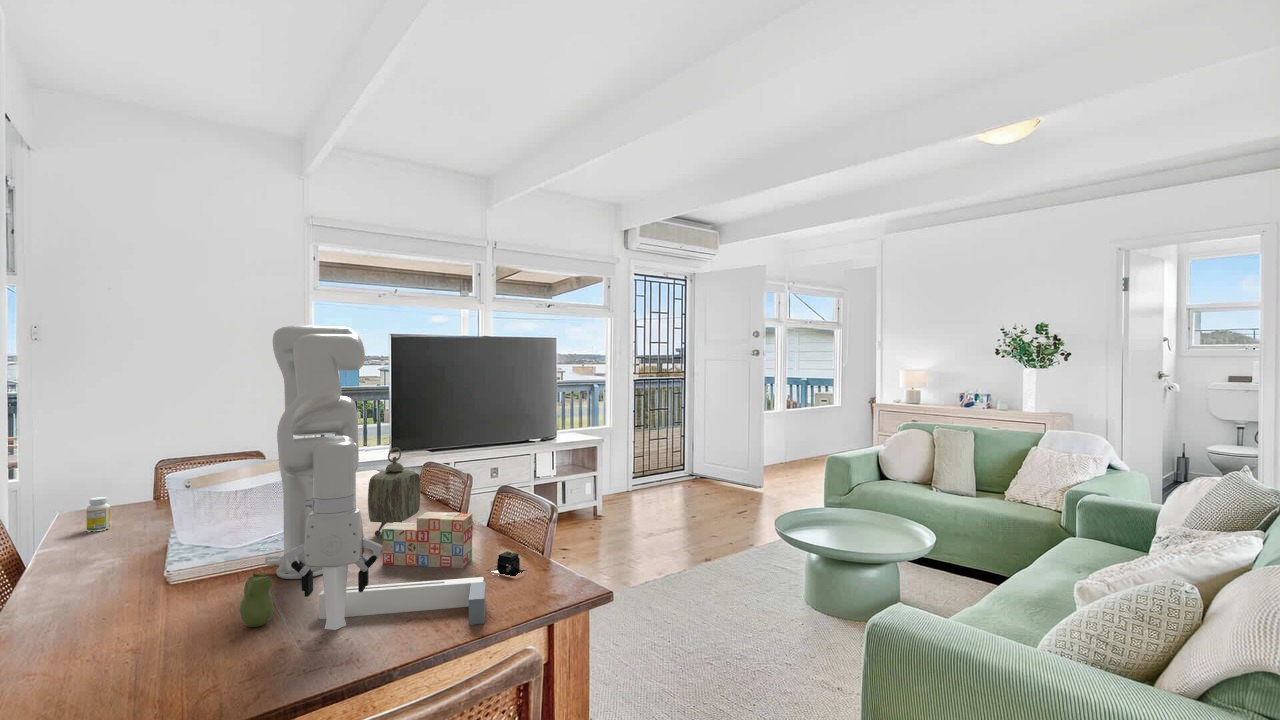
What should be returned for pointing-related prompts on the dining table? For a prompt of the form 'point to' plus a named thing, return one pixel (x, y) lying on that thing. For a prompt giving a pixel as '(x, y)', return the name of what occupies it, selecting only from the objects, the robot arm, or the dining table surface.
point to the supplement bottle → (98, 514)
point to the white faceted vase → (335, 595)
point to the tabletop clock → (393, 494)
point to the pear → (257, 601)
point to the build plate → (508, 564)
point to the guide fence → (415, 598)
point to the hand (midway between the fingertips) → (335, 592)
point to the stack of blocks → (430, 541)
